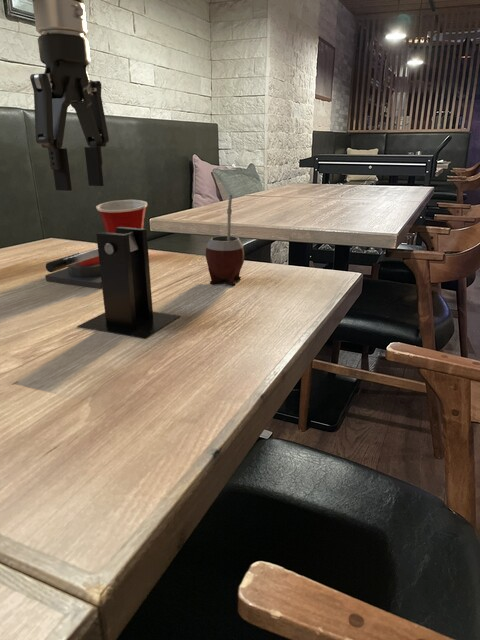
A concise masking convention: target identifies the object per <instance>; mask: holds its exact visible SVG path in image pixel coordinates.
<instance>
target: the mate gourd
mask: <svg viewBox="0 0 480 640" xmlns="http://www.w3.org/2000/svg"><path fill="white" fill-rule="evenodd" d="M232 201H233V195H232V194H230V195H228V203H227V209H226V212H227V213H226V215H227V229H226V233H227V234H226V235H218V236H213V237H211V238H210V239H209V240H208V242H207V243H206V248H205V260H206V264H207V268H208V273H209V276H210V281H209V284H210V285H217V284H222V283H223V284H227V285H229V286H231V287H234V286H236V282H235V281H241V280H242V279H241V278H242V277H241V276H240V273H241V270H242V268H243V265H244V263H245V256H246V254H245V248H244V244H243V241H242V240H241V239H240V237H237V236H233V235H231V225H232V224H231V221H232V211H233V210H232Z"/></svg>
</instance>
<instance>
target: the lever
mask: <svg viewBox="0 0 480 640" xmlns="http://www.w3.org/2000/svg"><path fill="white" fill-rule="evenodd" d="M127 234H129V243H130V252H132V251H135V250H138V249H139V248H138V245H137V242H136V239H135V237H134V234H133V232H130V233H127ZM81 253H82V254H81ZM81 253H73V254H71V255H67V256H63V257H61V258H57V259H55V260H51V261H48V262H46V264H45V270H46V271H47V272H48V273H54V272H57V271H60V270H63V269H66V268H68V267H69V266H72V265H75V264H78V263H81V262H82V261H84V260H87V259H91V258H94V257H97V256H99V254H98V248H95V249H92V250H88V251H85V252H81Z"/></svg>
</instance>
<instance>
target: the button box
mask: <svg viewBox="0 0 480 640" xmlns="http://www.w3.org/2000/svg"><path fill="white" fill-rule="evenodd" d="M44 277H45V281H46V283H47V282H48V283H55V284H61V285H69V286H76V287H82V288H90V289H98V290H101V289H102V281H101V272H100V264H98V265H92V266H79V265H77V264H75V265H72V266H69V267H66V268H64V269H61V270H58V271H55V272H50V273H48V274H45V276H44Z"/></svg>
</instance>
